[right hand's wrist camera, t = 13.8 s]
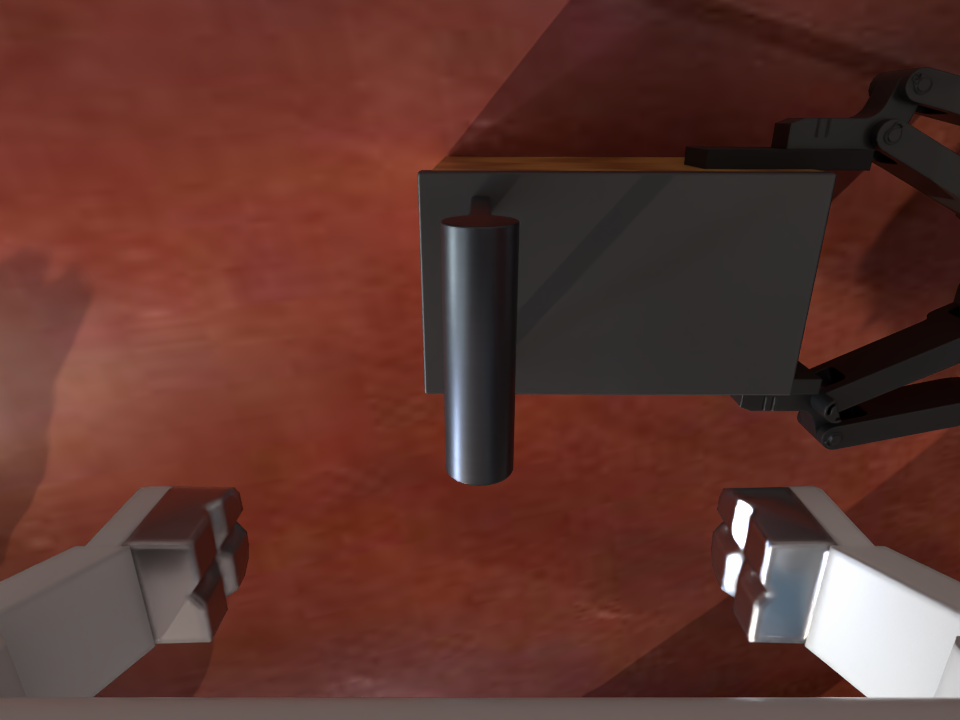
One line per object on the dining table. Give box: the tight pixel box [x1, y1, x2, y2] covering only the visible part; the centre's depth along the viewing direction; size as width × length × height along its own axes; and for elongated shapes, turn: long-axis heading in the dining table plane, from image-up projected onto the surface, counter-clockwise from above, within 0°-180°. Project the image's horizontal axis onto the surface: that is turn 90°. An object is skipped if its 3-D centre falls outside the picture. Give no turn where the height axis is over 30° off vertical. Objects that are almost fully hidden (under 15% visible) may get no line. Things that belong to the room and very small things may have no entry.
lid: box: [418, 170, 837, 486], centre depth 21 cm, size 16×9×9 cm, turn 90°
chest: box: [433, 157, 820, 171], centre depth 29 cm, size 15×9×9 cm, turn 90°
